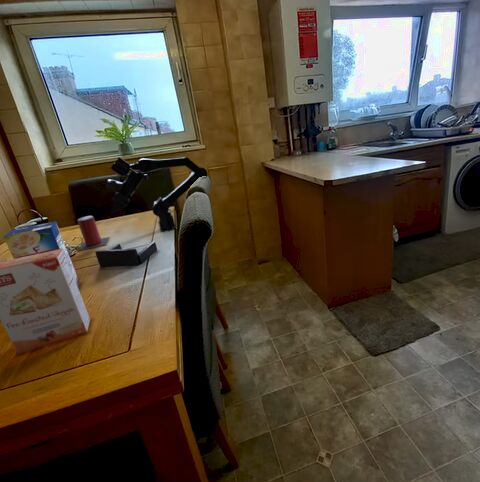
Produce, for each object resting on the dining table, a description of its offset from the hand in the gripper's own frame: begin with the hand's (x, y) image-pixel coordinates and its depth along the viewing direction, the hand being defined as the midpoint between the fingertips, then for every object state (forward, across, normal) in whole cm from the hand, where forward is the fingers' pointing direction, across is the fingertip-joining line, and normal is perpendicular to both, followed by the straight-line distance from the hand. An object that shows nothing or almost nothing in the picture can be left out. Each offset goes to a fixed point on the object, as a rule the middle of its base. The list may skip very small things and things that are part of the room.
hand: (112, 211), depth 126 cm
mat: (+18, 0, +2) cm, 18 cm away
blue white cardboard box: (+19, +45, 0) cm, 49 cm away
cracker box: (+15, +69, +4) cm, 71 cm away
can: (+18, 0, +1) cm, 18 cm away
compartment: (+5, +30, +14) cm, 33 cm away
